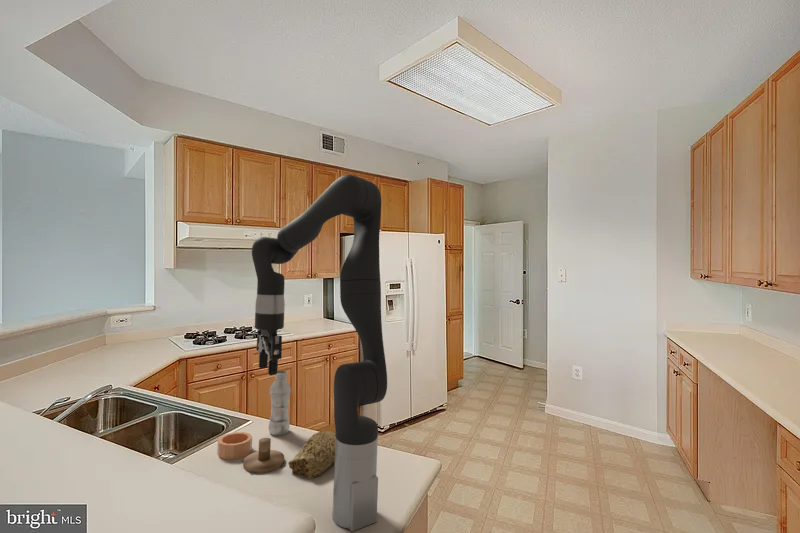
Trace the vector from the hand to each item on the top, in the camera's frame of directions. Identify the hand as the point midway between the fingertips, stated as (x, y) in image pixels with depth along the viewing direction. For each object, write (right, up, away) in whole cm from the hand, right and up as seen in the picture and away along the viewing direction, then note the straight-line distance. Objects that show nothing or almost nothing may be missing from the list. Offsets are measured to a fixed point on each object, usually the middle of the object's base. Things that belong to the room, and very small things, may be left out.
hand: (267, 371), depth 106 cm
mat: (-1, -26, 0) cm, 26 cm away
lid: (-1, -25, 0) cm, 25 cm away
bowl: (-11, -25, +6) cm, 28 cm away
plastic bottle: (-3, -26, +20) cm, 33 cm away
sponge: (+13, -27, +3) cm, 30 cm away
